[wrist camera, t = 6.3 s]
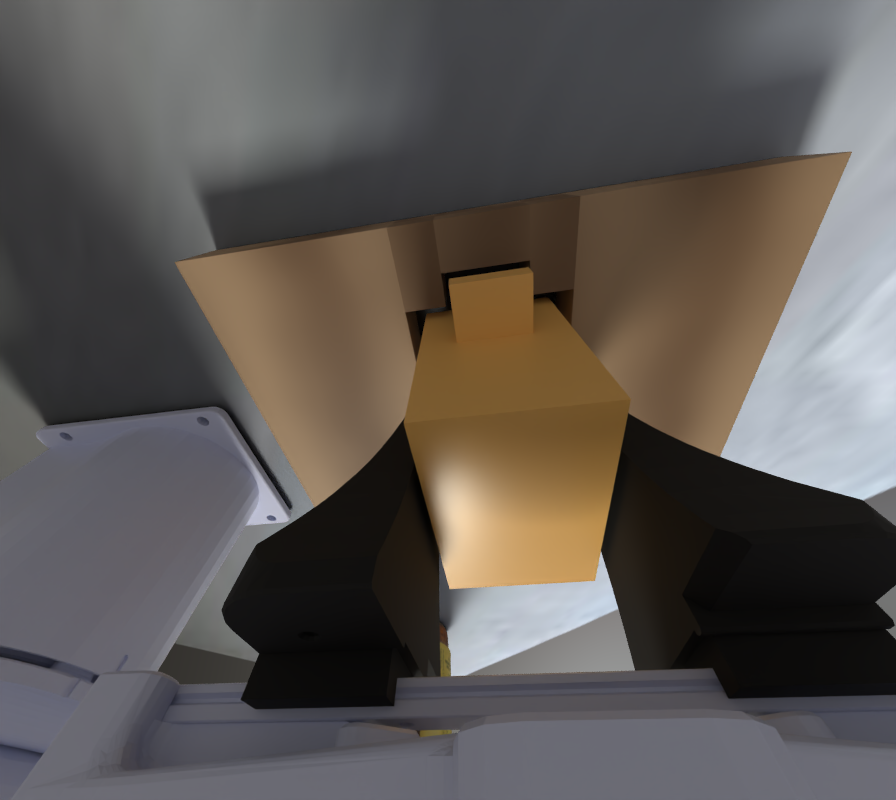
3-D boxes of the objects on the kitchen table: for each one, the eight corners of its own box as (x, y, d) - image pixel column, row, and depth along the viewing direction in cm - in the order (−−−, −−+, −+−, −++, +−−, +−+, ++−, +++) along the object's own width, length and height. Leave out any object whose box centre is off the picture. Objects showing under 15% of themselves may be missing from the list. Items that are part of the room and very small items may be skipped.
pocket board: (333, 486, 18) (320, 517, 16) (215, 250, 11) (174, 262, 10) (680, 455, 16) (706, 486, 14) (783, 156, 10) (852, 151, 8)
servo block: (455, 470, 15) (456, 613, 10) (418, 266, 10) (382, 348, 5) (543, 462, 15) (589, 607, 10) (549, 247, 10) (647, 314, 5)
